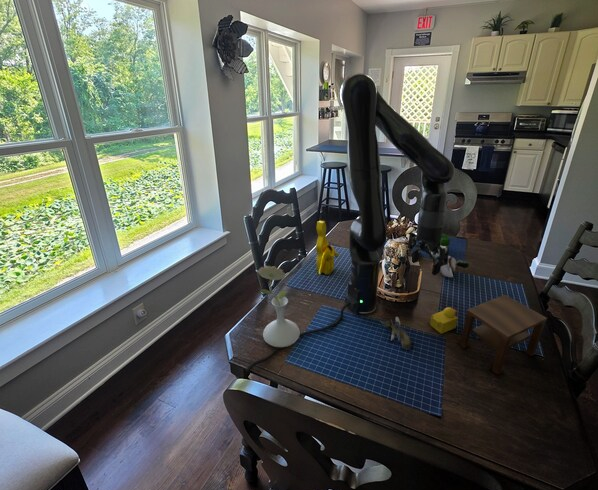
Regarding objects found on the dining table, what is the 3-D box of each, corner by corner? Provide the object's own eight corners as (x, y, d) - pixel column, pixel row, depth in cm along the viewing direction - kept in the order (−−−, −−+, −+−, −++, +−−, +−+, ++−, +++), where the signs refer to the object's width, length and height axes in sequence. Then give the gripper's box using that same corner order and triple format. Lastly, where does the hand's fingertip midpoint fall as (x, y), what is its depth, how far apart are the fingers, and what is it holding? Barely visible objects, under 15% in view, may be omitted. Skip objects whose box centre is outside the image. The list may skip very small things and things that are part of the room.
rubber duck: (439, 334, 100) (442, 318, 97) (428, 325, 104) (430, 309, 101) (458, 326, 103) (462, 310, 100) (447, 318, 107) (450, 302, 104)
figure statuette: (323, 282, 127) (324, 232, 119) (306, 277, 131) (306, 228, 123) (342, 263, 141) (344, 217, 133) (326, 258, 145) (327, 213, 136)
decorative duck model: (466, 252, 134) (485, 270, 120) (461, 268, 137) (479, 287, 123) (431, 250, 134) (445, 267, 120) (427, 265, 137) (441, 284, 123)
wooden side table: (496, 374, 86) (508, 336, 80) (459, 344, 96) (467, 309, 91) (534, 354, 92) (547, 318, 87) (495, 328, 102) (504, 294, 97)
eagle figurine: (375, 333, 99) (396, 347, 91) (384, 311, 100) (405, 324, 92) (391, 337, 103) (413, 352, 95) (400, 317, 103) (422, 329, 95)
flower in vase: (306, 332, 102) (305, 264, 92) (287, 356, 93) (283, 283, 83) (272, 319, 108) (268, 253, 98) (251, 340, 99) (244, 271, 89)
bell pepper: (449, 249, 150) (452, 230, 147) (446, 257, 144) (449, 237, 140) (430, 245, 155) (433, 226, 151) (426, 252, 148) (429, 233, 144)
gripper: (404, 217, 102) (400, 261, 109) (440, 233, 90) (433, 282, 97) (422, 212, 105) (417, 255, 111) (459, 227, 93) (451, 275, 100)
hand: (424, 267), depth 104 cm, fingers open, 8 cm apart
